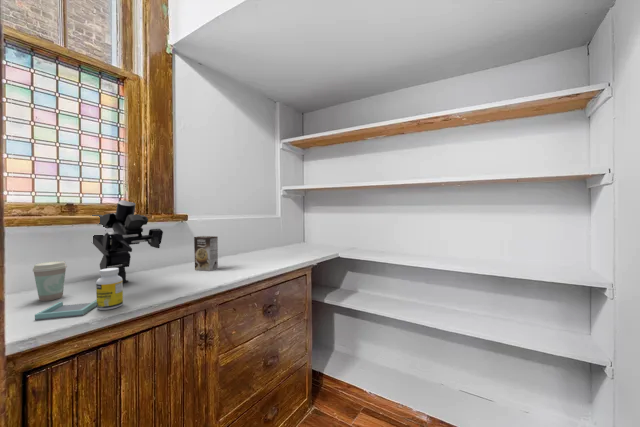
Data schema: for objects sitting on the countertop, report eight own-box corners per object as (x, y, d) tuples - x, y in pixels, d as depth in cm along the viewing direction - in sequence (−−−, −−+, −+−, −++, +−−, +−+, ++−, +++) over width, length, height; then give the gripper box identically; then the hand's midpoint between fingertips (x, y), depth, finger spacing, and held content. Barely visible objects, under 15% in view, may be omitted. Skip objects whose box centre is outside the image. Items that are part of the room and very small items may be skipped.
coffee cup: (38, 304, 90) (36, 266, 90) (30, 299, 95) (28, 264, 95) (72, 296, 98) (70, 262, 97) (63, 292, 102) (61, 259, 102)
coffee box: (194, 270, 136) (193, 237, 136) (203, 267, 142) (202, 235, 142) (210, 271, 133) (209, 237, 133) (218, 268, 140) (217, 235, 139)
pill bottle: (91, 309, 85) (90, 270, 84) (114, 302, 91) (113, 266, 90) (105, 312, 82) (104, 272, 82) (128, 304, 88) (126, 267, 88)
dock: (59, 306, 87) (59, 301, 87) (101, 302, 90) (101, 298, 90) (34, 320, 77) (34, 314, 77) (82, 315, 80) (82, 310, 80)
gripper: (99, 211, 98) (118, 230, 90) (155, 210, 114) (175, 226, 106) (95, 240, 100) (114, 260, 93) (150, 235, 116) (170, 252, 108)
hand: (145, 248), depth 100 cm, fingers open, 9 cm apart
